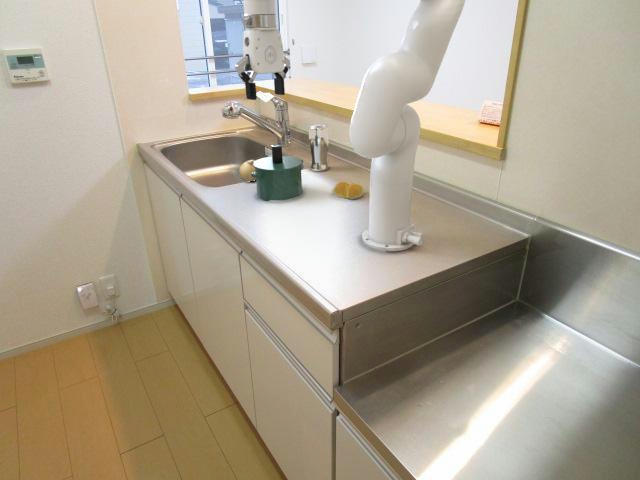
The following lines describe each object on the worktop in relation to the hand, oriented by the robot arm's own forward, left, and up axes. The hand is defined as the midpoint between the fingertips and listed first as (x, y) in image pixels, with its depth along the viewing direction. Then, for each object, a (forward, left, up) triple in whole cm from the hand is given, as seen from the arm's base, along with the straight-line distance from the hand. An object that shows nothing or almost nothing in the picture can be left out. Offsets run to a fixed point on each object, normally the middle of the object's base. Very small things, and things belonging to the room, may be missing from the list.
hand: (266, 96), depth 116 cm
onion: (+24, -12, -31) cm, 41 cm away
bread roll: (-11, -20, -31) cm, 38 cm away
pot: (+6, -8, -30) cm, 32 cm away
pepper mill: (+14, -35, -31) cm, 48 cm away
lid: (+6, -8, -21) cm, 23 cm away
